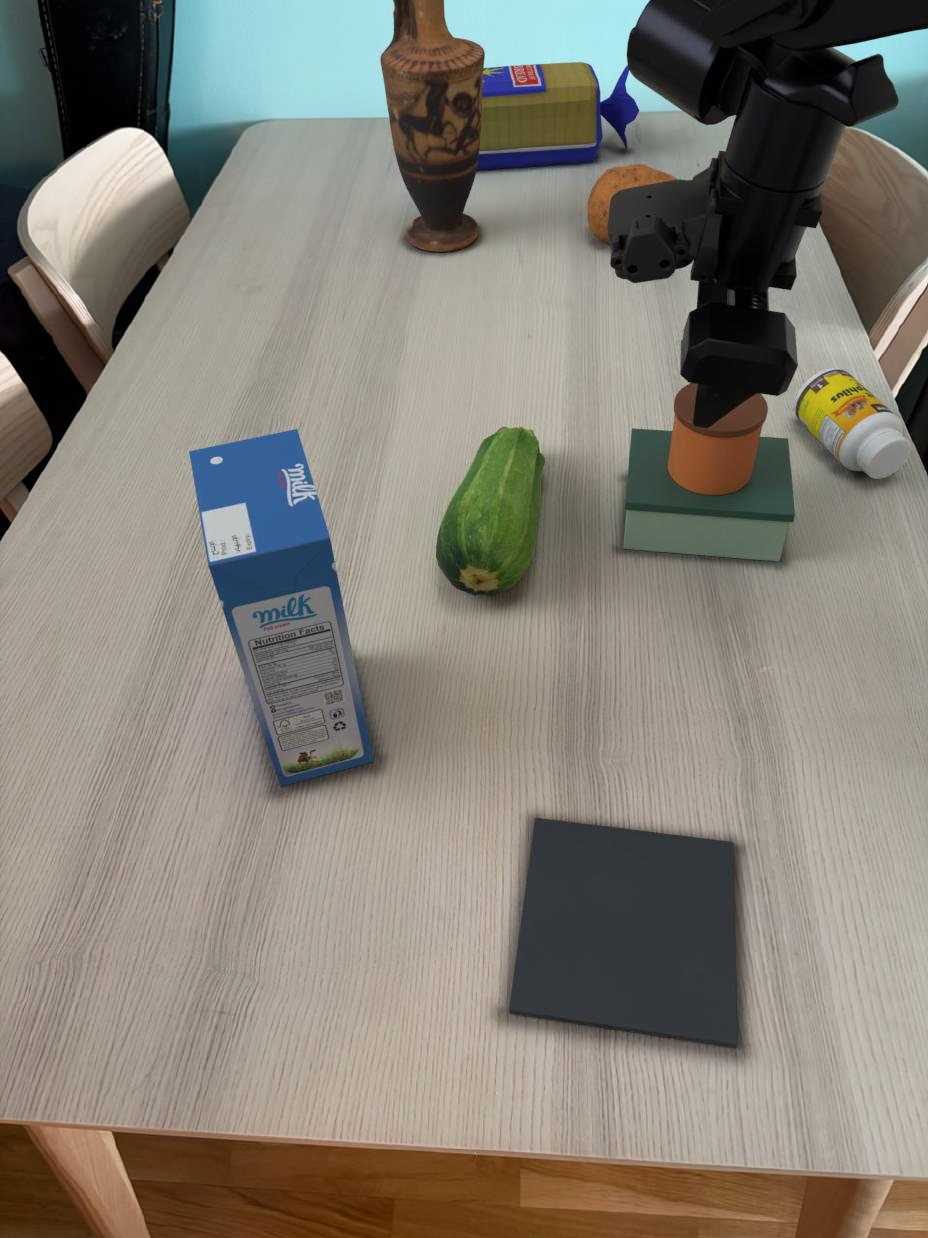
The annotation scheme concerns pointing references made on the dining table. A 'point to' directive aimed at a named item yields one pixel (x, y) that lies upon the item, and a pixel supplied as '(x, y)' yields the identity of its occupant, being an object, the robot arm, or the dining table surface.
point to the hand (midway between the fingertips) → (701, 378)
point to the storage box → (707, 504)
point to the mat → (629, 932)
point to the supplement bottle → (852, 423)
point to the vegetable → (493, 515)
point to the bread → (548, 114)
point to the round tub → (715, 445)
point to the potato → (610, 185)
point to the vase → (434, 120)
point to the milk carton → (282, 602)
